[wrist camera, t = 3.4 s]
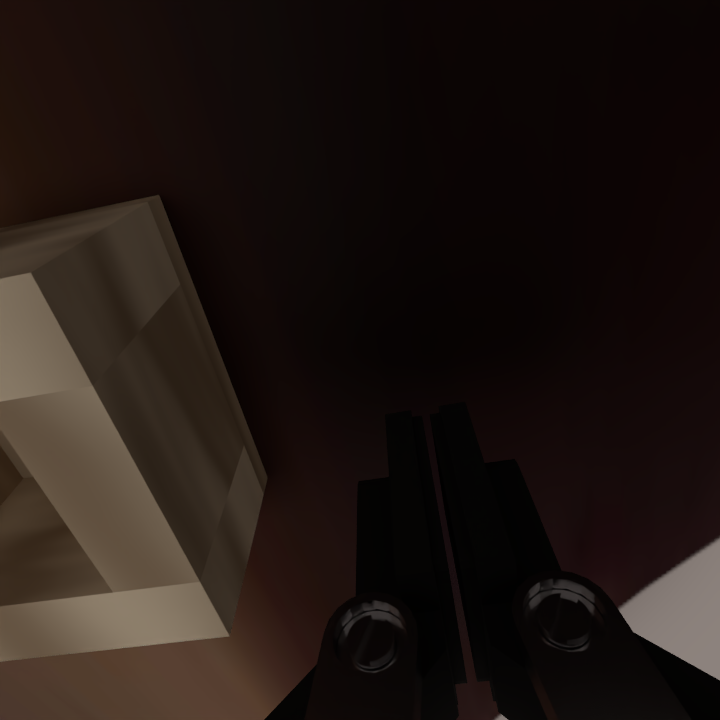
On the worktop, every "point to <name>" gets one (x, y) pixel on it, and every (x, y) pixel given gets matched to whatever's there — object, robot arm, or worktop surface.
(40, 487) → the socket block
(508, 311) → the worktop surface
